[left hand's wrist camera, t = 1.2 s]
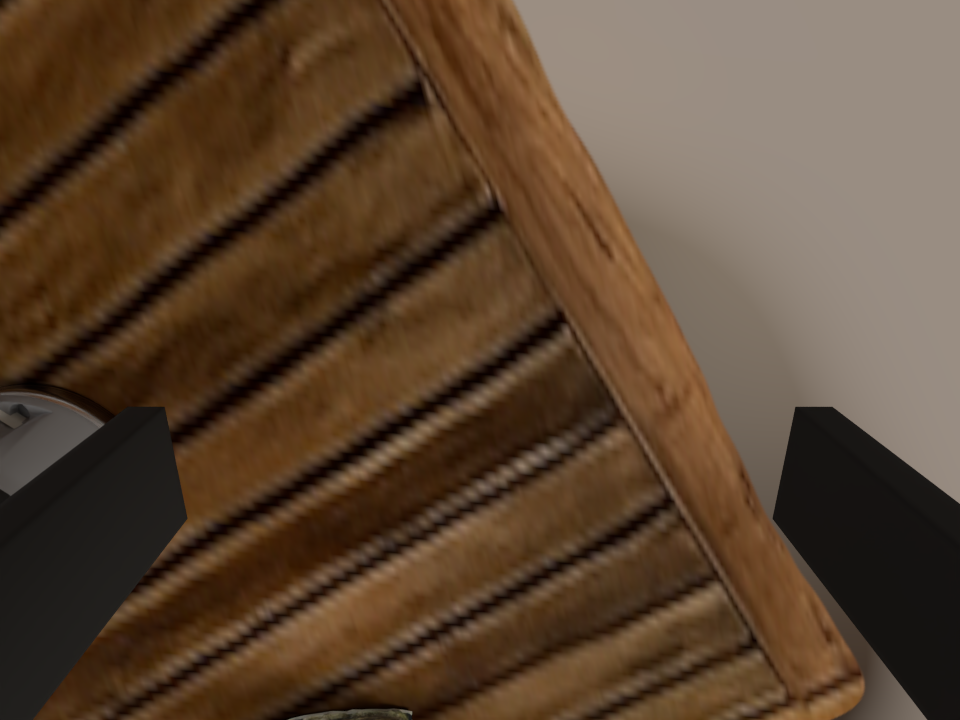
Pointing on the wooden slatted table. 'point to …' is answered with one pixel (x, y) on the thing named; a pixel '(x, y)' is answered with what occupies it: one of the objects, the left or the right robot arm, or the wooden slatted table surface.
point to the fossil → (360, 715)
